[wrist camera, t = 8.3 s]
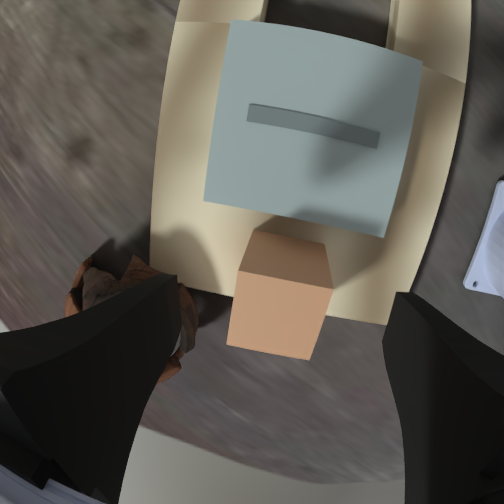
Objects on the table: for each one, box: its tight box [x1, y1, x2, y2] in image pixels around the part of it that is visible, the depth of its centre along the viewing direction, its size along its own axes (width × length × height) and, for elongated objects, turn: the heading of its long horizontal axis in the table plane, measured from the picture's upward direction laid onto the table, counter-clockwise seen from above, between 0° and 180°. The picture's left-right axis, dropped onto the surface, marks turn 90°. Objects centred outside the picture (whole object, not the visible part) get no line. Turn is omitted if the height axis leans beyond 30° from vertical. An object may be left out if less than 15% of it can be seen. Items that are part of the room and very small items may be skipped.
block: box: [227, 230, 334, 360], centre depth 16 cm, size 4×4×5 cm
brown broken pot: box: [65, 255, 199, 383], centre depth 21 cm, size 12×10×8 cm
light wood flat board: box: [150, 0, 471, 325], centre depth 15 cm, size 16×26×2 cm, turn 171°
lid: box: [203, 19, 423, 238], centre depth 14 cm, size 9×9×2 cm
